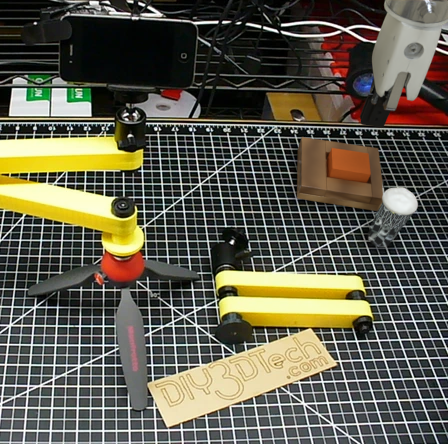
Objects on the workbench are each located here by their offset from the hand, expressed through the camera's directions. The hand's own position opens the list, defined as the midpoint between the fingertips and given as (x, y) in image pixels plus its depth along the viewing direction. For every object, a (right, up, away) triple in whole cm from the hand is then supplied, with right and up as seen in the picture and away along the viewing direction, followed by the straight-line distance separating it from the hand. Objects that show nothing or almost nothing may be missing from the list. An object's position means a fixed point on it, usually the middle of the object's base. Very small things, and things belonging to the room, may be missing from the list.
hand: (371, 122), depth 81 cm
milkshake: (+1, -16, +2) cm, 16 cm away
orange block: (-1, -7, +8) cm, 11 cm away
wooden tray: (-2, -7, +9) cm, 12 cm away
